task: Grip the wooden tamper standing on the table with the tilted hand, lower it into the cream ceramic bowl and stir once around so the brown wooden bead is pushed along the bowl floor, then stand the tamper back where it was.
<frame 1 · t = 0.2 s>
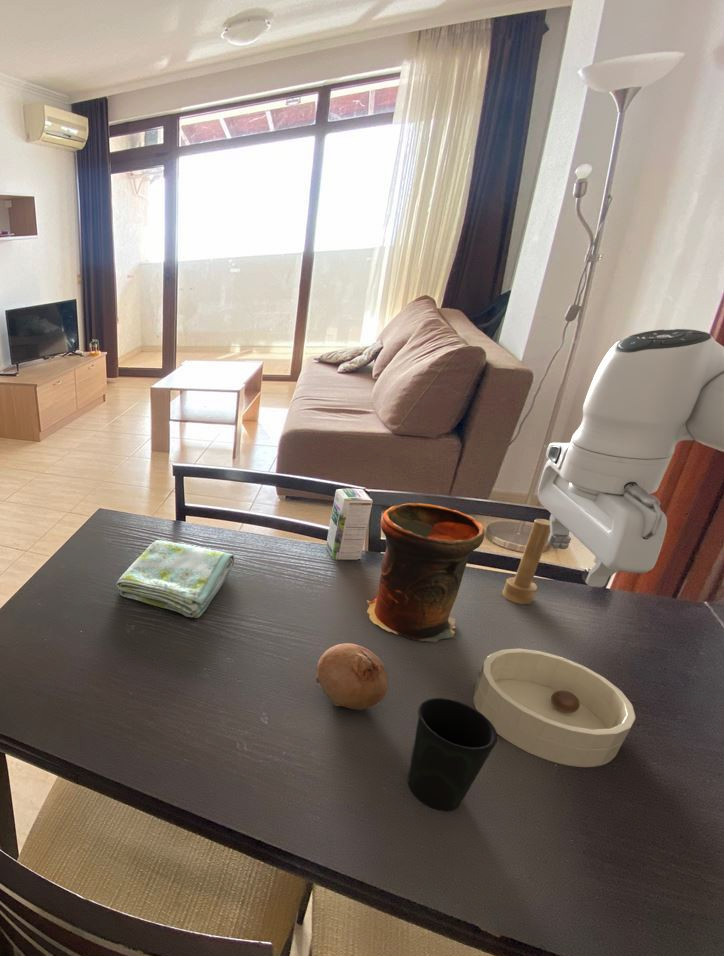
hand: (573, 564, 72), 22 cm above the table, tool pointing down, fingers open, 8 cm apart
bowl: (541, 719, 76), on the table
wooden tamper: (517, 597, 100), on the table
syrup box: (342, 554, 118), on the table
onion: (346, 698, 82), on the table
bead: (565, 701, 76), point 2 cm above the table, touching bowl
cup: (433, 791, 68), on the table
towel: (175, 584, 113), on the table
vessel: (407, 617, 98), on the table
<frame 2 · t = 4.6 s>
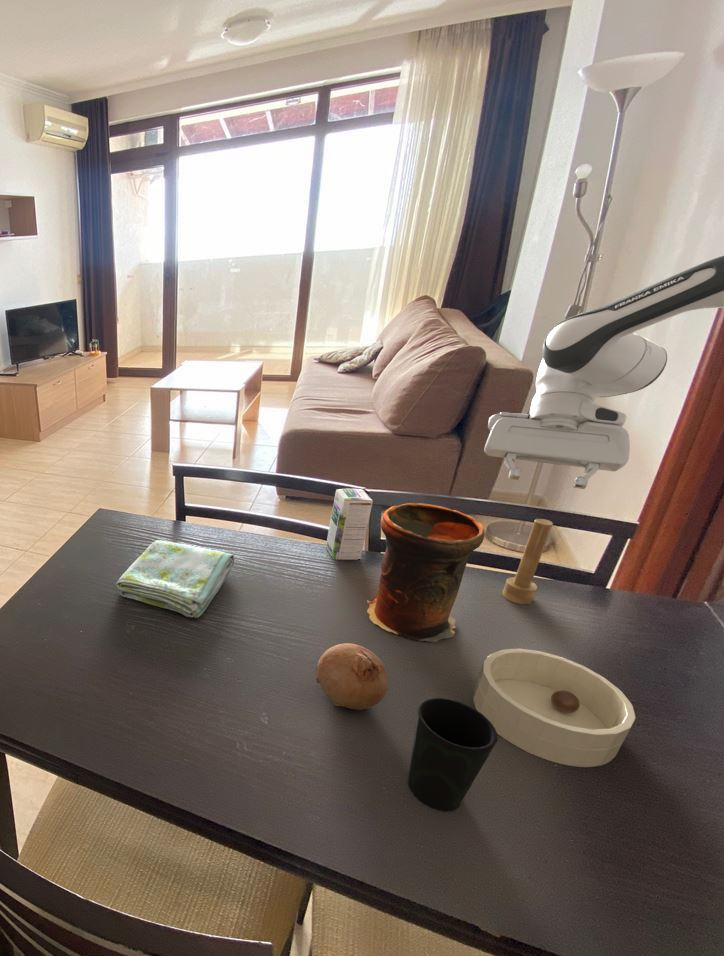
hand: (545, 482, 100), 19 cm above the table, tool tilted 45°, fingers open, 8 cm apart
nothing on the table moved.
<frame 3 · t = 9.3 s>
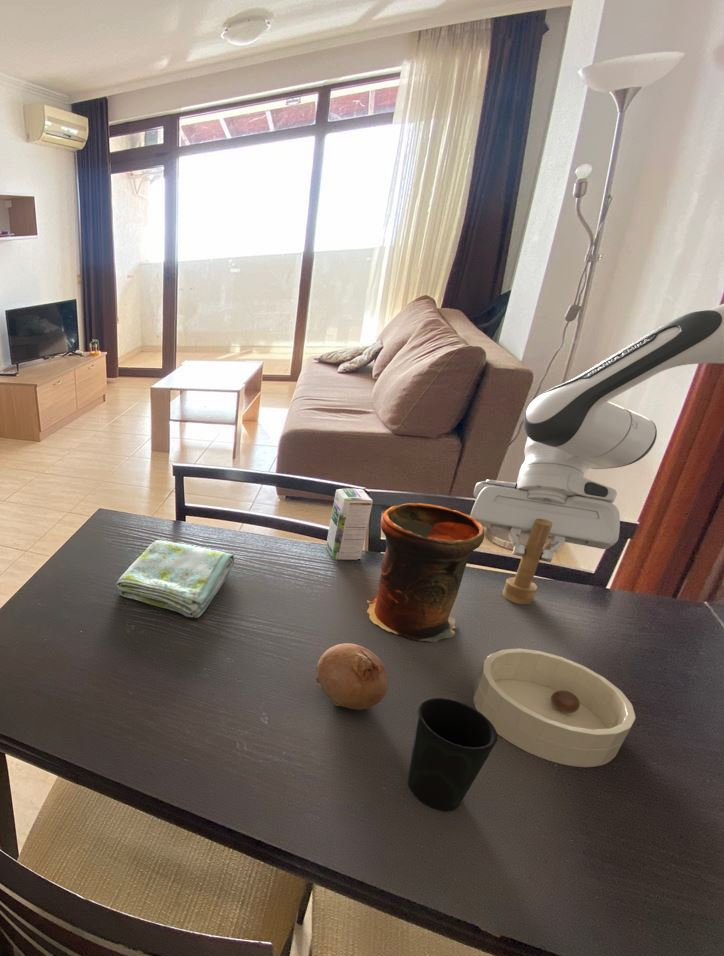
hand: (531, 557, 96), 9 cm above the table, tool tilted 45°, fingers closed on wooden tamper, 2 cm apart
wooden tamper: (517, 597, 100), on the table, touching gripper
everything else where it was.
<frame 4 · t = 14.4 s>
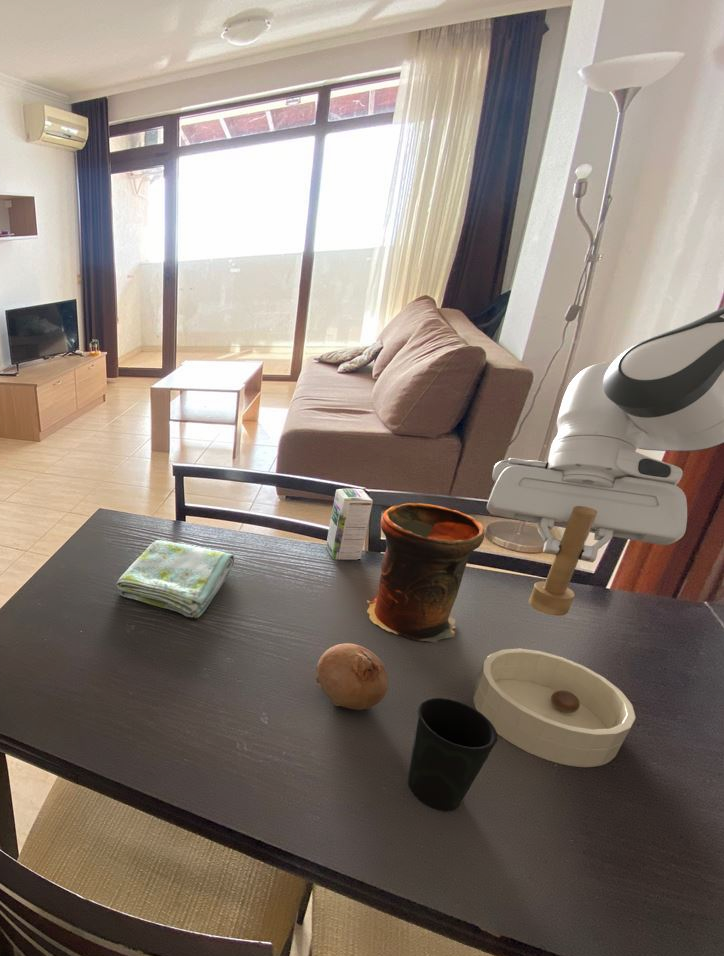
hand: (568, 556, 75), 21 cm above the table, tool tilted 45°, fingers closed on wooden tamper, 2 cm apart
wooden tamper: (547, 606, 79), point 12 cm above the table, touching gripper
everything else where it was.
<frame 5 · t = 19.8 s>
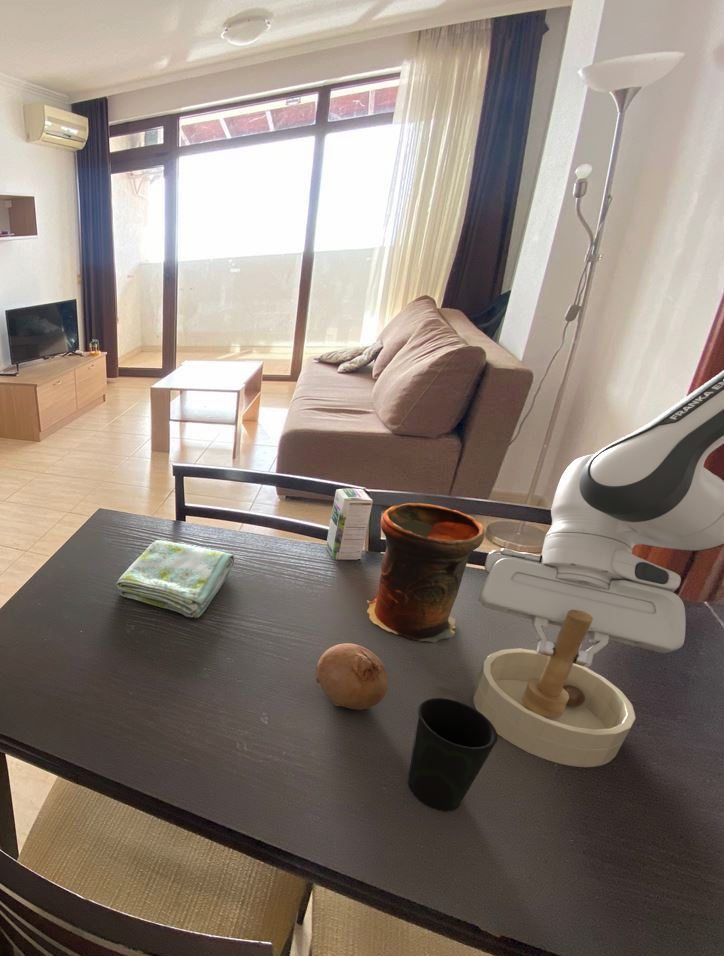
hand: (562, 659, 72), 10 cm above the table, tool tilted 45°, fingers closed on wooden tamper, 2 cm apart
wooden tamper: (541, 705, 76), point 2 cm above the table, touching gripper
bead: (570, 695, 77), point 2 cm above the table, tilted 68°, touching bowl
everything else where it was.
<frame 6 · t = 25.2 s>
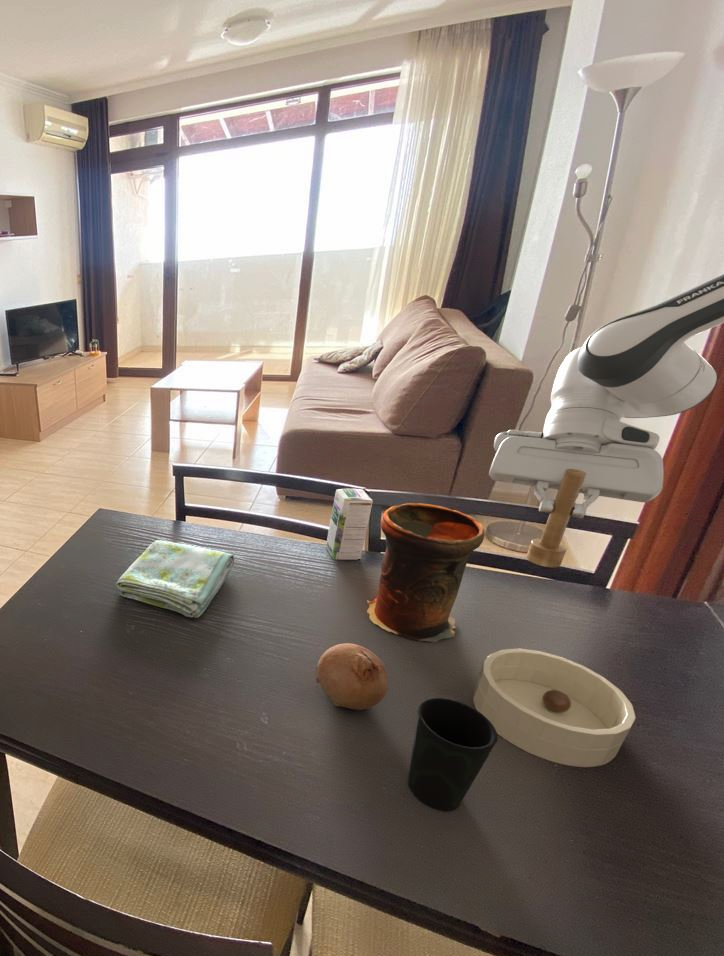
hand: (561, 513, 85), 21 cm above the table, tool tilted 45°, fingers closed on wooden tamper, 2 cm apart
wooden tamper: (543, 560, 89), point 12 cm above the table, touching gripper
bead: (556, 701, 76), point 2 cm above the table, tilted 38°, touching bowl
everything else where it was.
when the fingers open (9 cm above the table, at t = 29.8 s): wooden tamper stays where it is, on the table.
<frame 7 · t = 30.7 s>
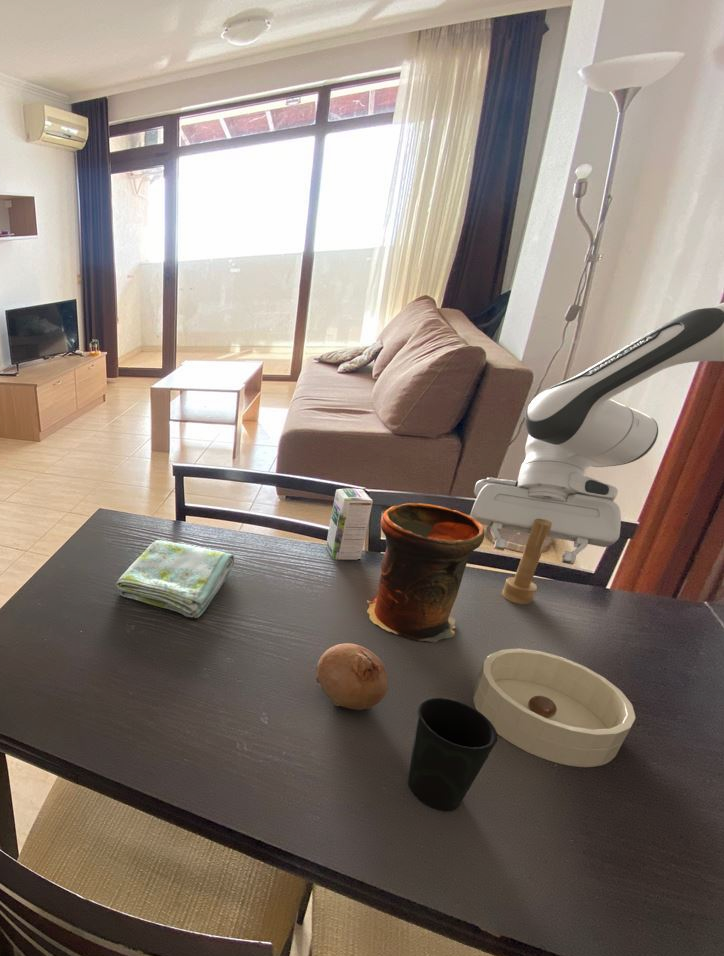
hand: (532, 555, 96), 9 cm above the table, tool tilted 45°, fingers open, 8 cm apart
wooden tamper: (516, 597, 100), on the table
bead: (542, 706, 76), point 2 cm above the table, tilted 141°, touching bowl
everything else where it was.
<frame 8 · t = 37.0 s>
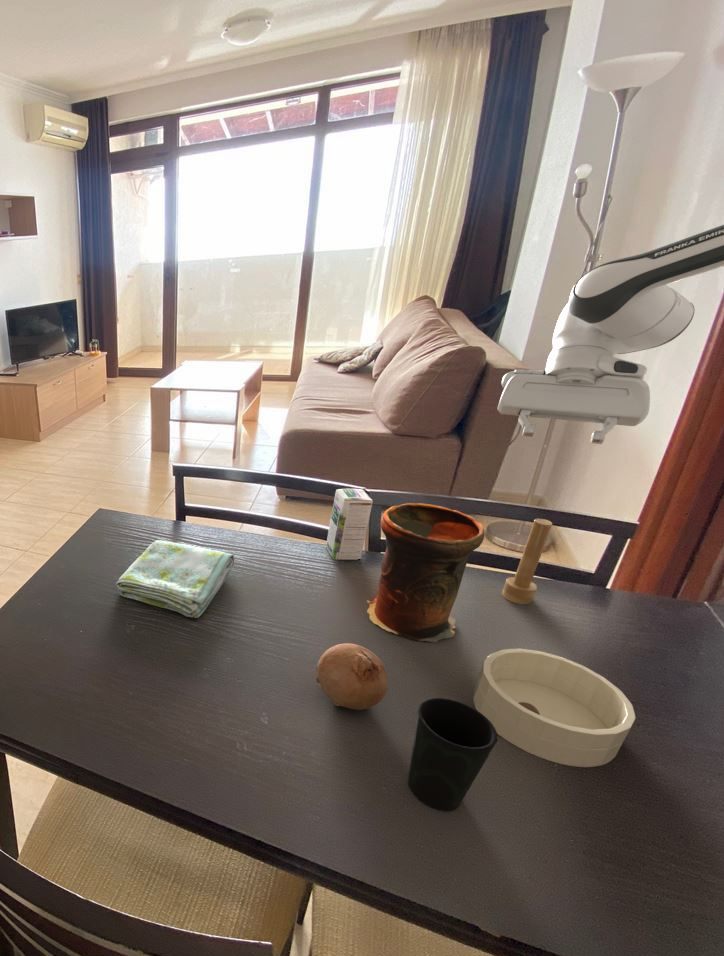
hand: (561, 438, 97), 27 cm above the table, tool tilted 45°, fingers open, 8 cm apart
bead: (525, 713, 75), point 2 cm above the table, tilted 96°, touching bowl
everything else where it was.
at the end: bead moved 7.0 cm from its start; bead inside the target area in the bowl (3.4 cm from its centre), point 2.1 cm above the bowl's base; wooden tamper inside the target area (0.1 cm from its centre), on the table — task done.
